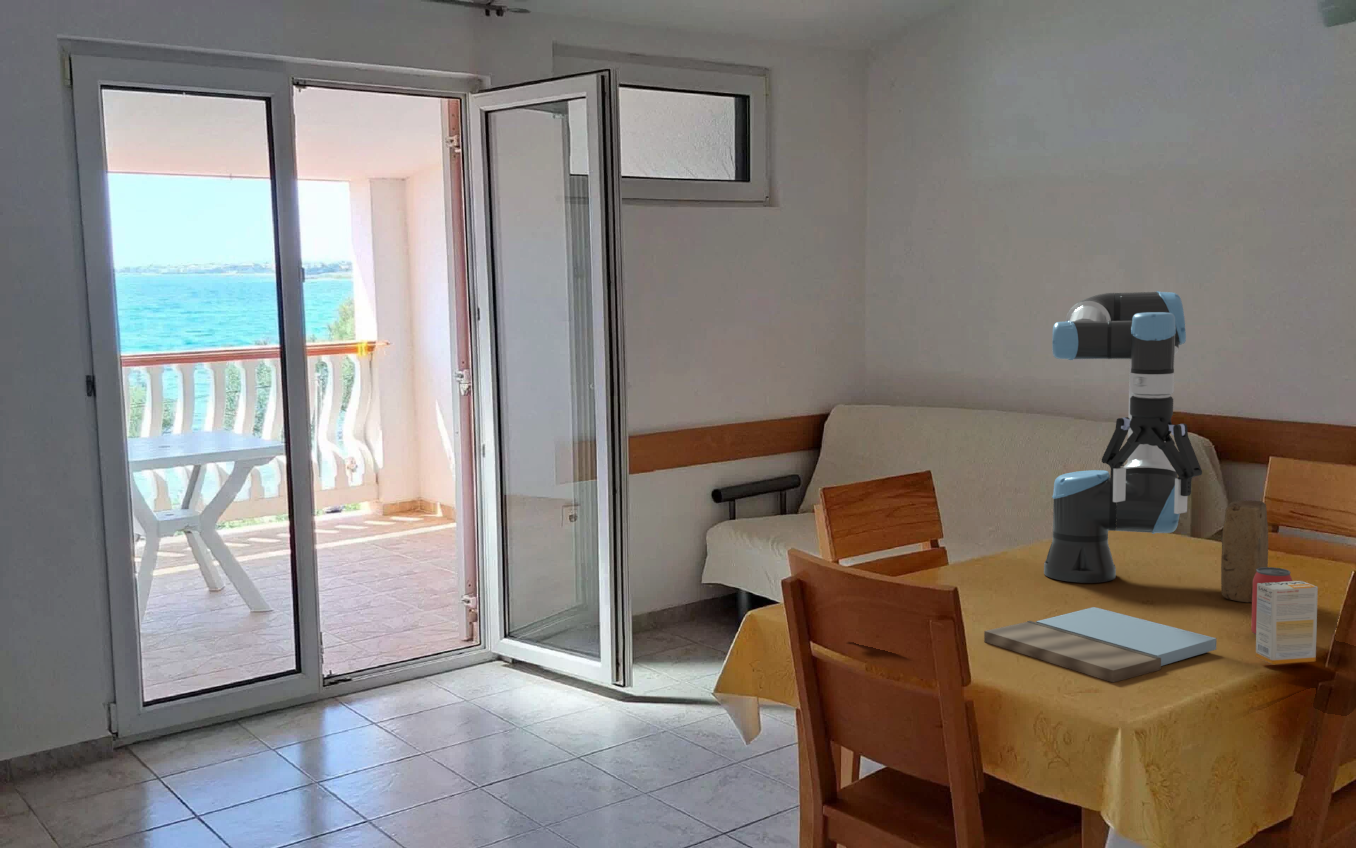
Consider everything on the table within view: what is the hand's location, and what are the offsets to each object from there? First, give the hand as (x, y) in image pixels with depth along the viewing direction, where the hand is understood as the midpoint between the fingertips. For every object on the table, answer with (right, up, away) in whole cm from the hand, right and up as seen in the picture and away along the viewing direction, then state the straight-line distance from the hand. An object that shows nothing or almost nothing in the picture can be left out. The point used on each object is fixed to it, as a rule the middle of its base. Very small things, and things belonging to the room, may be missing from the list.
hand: (1149, 507), depth 221 cm
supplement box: (+14, -25, -22) cm, 36 cm away
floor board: (-21, -25, -18) cm, 37 cm away
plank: (-9, -23, -11) cm, 27 cm away
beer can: (+19, -23, -8) cm, 31 cm away
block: (+27, -20, +19) cm, 39 cm away
